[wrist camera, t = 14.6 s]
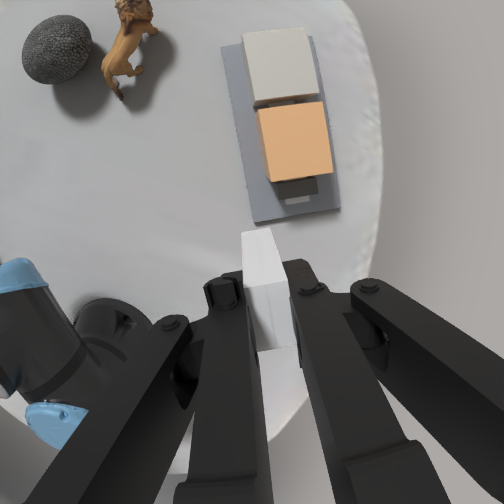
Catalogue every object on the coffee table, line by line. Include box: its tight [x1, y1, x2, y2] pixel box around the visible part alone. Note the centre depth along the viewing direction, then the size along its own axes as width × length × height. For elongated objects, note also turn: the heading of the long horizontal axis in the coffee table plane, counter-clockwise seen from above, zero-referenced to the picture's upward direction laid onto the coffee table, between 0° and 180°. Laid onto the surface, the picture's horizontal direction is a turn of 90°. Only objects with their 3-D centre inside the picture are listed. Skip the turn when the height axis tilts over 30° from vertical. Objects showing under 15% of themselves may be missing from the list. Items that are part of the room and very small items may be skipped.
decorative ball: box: [22, 15, 92, 84], centre depth 29 cm, size 10×10×10 cm
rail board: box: [221, 27, 341, 223], centre depth 36 cm, size 12×24×8 cm, turn 10°
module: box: [255, 101, 333, 182], centre depth 36 cm, size 7×8×7 cm
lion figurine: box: [101, 0, 158, 101], centre depth 31 cm, size 15×5×9 cm, turn 168°
